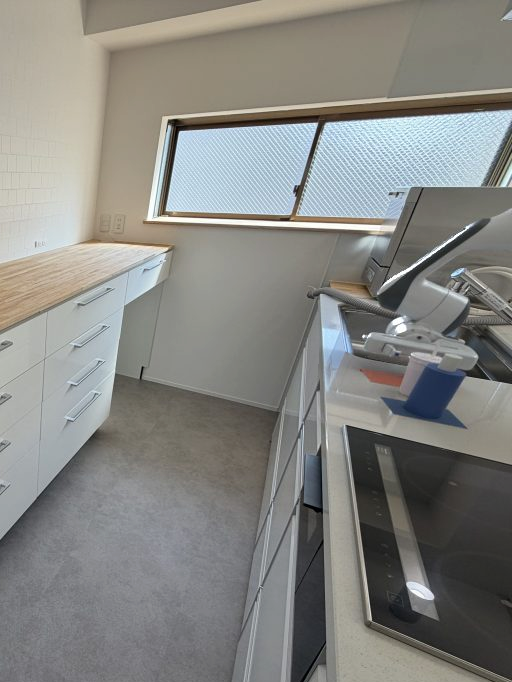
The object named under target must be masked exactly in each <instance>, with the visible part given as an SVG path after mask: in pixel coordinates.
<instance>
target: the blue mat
mask: <svg viewBox="0 0 512 682" xmlns="http://www.w3.org/2000/svg"><path fill="white" fill-rule="evenodd" d="M380 399H381V400H382V401H383V402H384V404H385V406H387V408H388V409H389V411H391V413H392V414H393V415H395V416H396V415H397V416H401V417H406V418H411V419H416V420H421V421H425V422H430V423H435V424H439V425H440V424H441V425H445V426H450V427H456V428H460V429H466V430H469V428H468V427H467V426H466V425H465V424H464V423H463V422H461V420H460V419H459V418H458V417H457V416H456V415H454V413H452V412H451V411H450V410H449V409H448V408H446V409H445V411H444V412H443V414H442V416H441V417H440V418H438V419H431V418H426V417H422V416H418V415H415V414H413V413H411V412H409V411H407V410H406V409H404V407H403V406H404V404H405V402H406V400H401V399H396V398H391V397H386V396H382V395H381V396H380Z"/></svg>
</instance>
